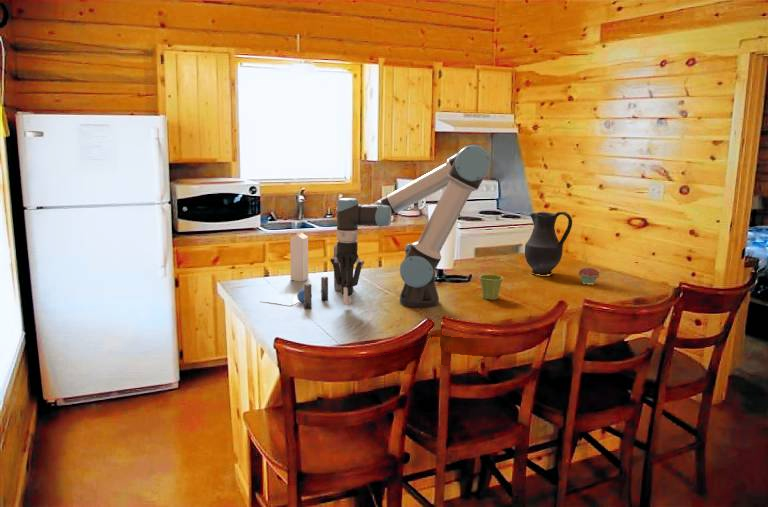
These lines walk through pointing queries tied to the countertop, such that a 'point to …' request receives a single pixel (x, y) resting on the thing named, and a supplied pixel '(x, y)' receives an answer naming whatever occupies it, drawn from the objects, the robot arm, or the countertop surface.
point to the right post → (324, 288)
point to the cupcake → (588, 274)
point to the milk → (299, 256)
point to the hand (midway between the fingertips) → (347, 303)
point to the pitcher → (545, 243)
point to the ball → (301, 295)
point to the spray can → (336, 286)
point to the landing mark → (295, 300)
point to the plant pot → (490, 286)
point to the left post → (307, 296)
